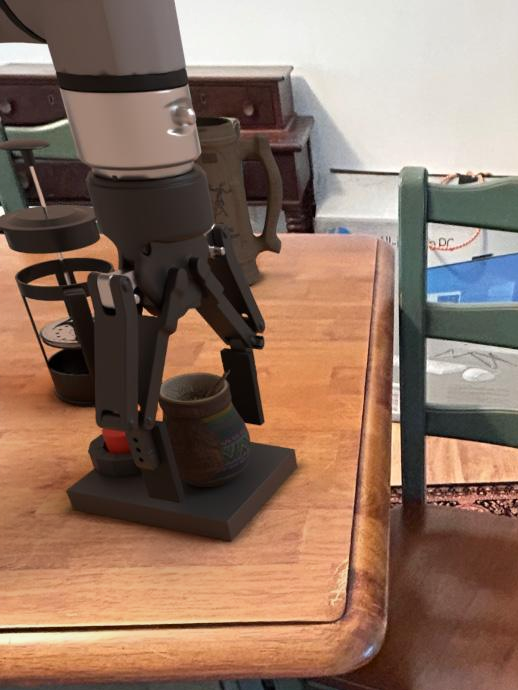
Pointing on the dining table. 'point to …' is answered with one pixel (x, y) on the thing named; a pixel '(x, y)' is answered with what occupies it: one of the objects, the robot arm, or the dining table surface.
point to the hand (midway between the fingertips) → (211, 457)
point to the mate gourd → (204, 429)
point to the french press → (58, 280)
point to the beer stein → (239, 188)
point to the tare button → (116, 441)
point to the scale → (200, 502)
